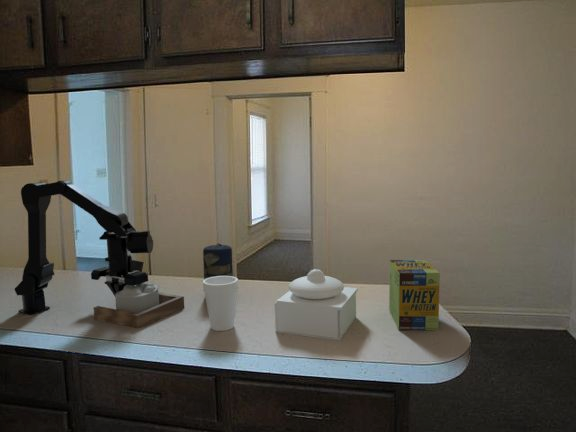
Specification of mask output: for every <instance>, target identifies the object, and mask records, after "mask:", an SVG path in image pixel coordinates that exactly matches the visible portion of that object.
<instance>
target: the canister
mask: <svg viewBox="0 0 576 432" xmlns="http://www.w3.org/2000/svg"><path fill="white" fill-rule="evenodd" d="M202 252H203V253H202V256H203V257H202V259H203V260H202V261H203V280H205V279H207V278H210V277H215V276H233V277H234V272H233V271H234V269H233V249H232V247H231V246H230V245H227V244H221V243H216V244H214V245H213V244H212V245H208V246H205V247H204V248H203V251H202Z"/></svg>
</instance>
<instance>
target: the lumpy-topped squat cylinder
mask: <svg viewBox="0 0 576 432" xmlns="http://www.w3.org/2000/svg"><path fill="white" fill-rule="evenodd" d="M159 293H160V292H159V287H158V286H157V284H154V283H151V282H147V283H146V282H144V283H141V284H138V285H134V286H132V285H126V286H124V288H123V290H121V291H119V292H117V293H116V294H115V296H114V298H115V309H117V310H122V311H128V312H133V313H140V312H142V311H145V310H147V309H150V308H152V307H154V306H157V305H159Z"/></svg>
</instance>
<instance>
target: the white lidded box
mask: <svg viewBox="0 0 576 432" xmlns="http://www.w3.org/2000/svg"><path fill="white" fill-rule="evenodd" d="M288 289H289V291H287V292H286V293H285V294H283V295H282V296H280V297H279V298H278V299H276V301H275V302H274V317H275V318H274V322H275V323H274V327H275V330H274V331H275V333H280V334H288V335H295V336H304V337H310V338H317V339H326V340H332V341H341V340H342V339H343V336H344V335H345V334H346V332H347V331H348V329H349V328H350V327H351V325H352V324H353V322H354V321H355V320H356V318H357V292H358V290H359V289H358V287H347V286H345V285H344V283H343V282H342V281H341V280H339V279H337V278H335V277H332V276H329V275H325V273H324V272H323V271H322V270H321V269H318V268H314V269H310V271H309V272H308V273H307V274H306V275H305V276H300V277H299V278H296V279H294V280H292V281H291V282H290V283H289V285H288Z"/></svg>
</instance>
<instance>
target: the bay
mask: <svg viewBox="0 0 576 432" xmlns="http://www.w3.org/2000/svg"><path fill="white" fill-rule="evenodd" d="M158 293H159V305H157V306H154V307H152V308H150V309H147V310H145V311H142V312H140V313H133V312H128V311H122V310H117V309H116V308H110V307H106V306H100V305H97V306H94V307H93V318H94V320H98V321H102V322H108V323H112V324H117V325H121V326H127V327H132V328H136V329H140V328H142V327H144V326H146V325H149V324H151V323H153V322H155V321H158V320H160V319H162V318H164V317H166V316H168V315H171V314H173V313H175V312H177V311H179V310H181V309H184V308H185V296H183V295H176V294H171V293H164V292H158Z"/></svg>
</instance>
